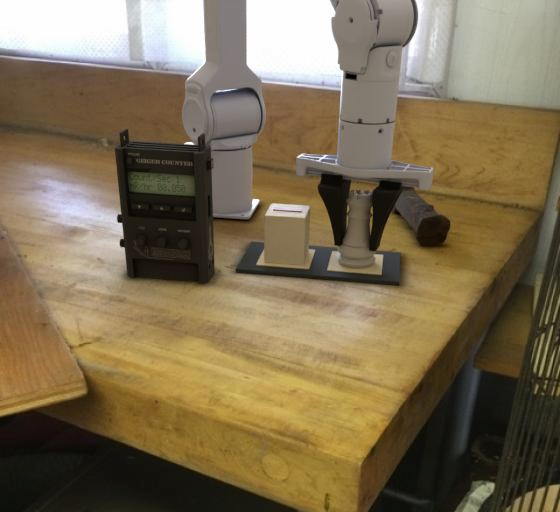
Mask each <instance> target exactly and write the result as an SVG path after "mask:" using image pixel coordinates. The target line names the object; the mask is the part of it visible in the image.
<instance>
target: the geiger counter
mask: <svg viewBox="0 0 560 512" xmlns="http://www.w3.org/2000/svg"><path fill="white" fill-rule="evenodd" d="M201 141H202V144H201ZM114 154H115V165H116V176H117V186H118V196H119V206H120V213H118V214H117V216H116V221H117V223H119V224H121V225H122V236H123V237H122V238H120V239H119V247H120V248H124V256H125V265H126V275H127V277H128V278H130V279H134V278H136V277H139V278H148V279H159V280H160V279H161V280H172V281H183V282H195V283H198V284H199V285H205V284H209V283H210V281H211V280H212V279H213V277H214V275H215V274H216V272H215V271H216V269H215V268H216V266H215V235H214V234H215V233H214V232H215V231H214V217H213V200H212V169H213V168H214V166H213V158H211V147H210V146H208V145H205V133H202V134H201V135H200V136H198V145H192V144H185V143H177V142H176V143H175V142H174V143H173V142H157V141H139V140H130V135H129V128H125V129H123V130H121V131H119V144H117V146H115V147H114Z"/></svg>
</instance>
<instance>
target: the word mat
mask: <svg viewBox="0 0 560 512" xmlns="http://www.w3.org/2000/svg"><path fill="white" fill-rule="evenodd" d="M338 254H339V251H338V247H333V246H331V247H330V246H320V245H319V246H318V245H309V252H308V254H307V257H306V260H305V263H304V265H291V264H278V263H265V262H264V241H251V242H250V244H249V245H248V247H247V248H246V250H245V252H244V254H243V256H242V257H241V258H240V261H239V263H238V264H237V266H236V268H235V273H241V274H252V275H253V274H254V275H267V276H280V277H292V278H302V279H303V278H305V279H316V280H317V279H319V280H329V281H343V282H353V283H367V284H377V285H393V286H400V284H401V283H400V282H401V254H402V252H400V251H399V252H398V251H386V250H376V252H375V254H374V257H375V258H376V260H375V262H374V263H373V264H372V265H371V266H369V267H365V268H350V267H346V266H344V265H342V264H340V262H339V261H338V259H337V255H338Z"/></svg>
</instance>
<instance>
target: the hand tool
mask: <svg viewBox="0 0 560 512" xmlns="http://www.w3.org/2000/svg"><path fill="white" fill-rule="evenodd" d="M392 212H393V213H396V214H400V216H401V218H402V219H404V220H405V221H406V222H407V224H408V225H409V227H410V228H411V229H412V230H413V231H414V233H416V241H417V243H418V244H419V245H420V246H422V247H432V246H437V245H441V244H443V243H444V242H445V241H446V240H447V238H448V233H449V232H450V230H451V220H450V219H449V218H448V217H446V216H445V215H443V214H440V213H438V212H437V211H436V209H435V206H434V205H433V204H430V203H428V202H426V200H425V199H424V198H422V196H420V195H419V194H418V192H417V191H416V188H415V187H406V186H405V188H404V189H403V191H402V193H401V195H400V196H399V198H398V200H397V202H396V203H395V205H394V207H393V209H392Z"/></svg>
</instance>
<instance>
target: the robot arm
mask: <svg viewBox="0 0 560 512" xmlns="http://www.w3.org/2000/svg"><path fill="white" fill-rule="evenodd" d="M201 2H202V3H201V4H202V5H201V6H202V37H203V38H202V39H203V40H202V41H203V62H202V64H201V65H200V66H199V67H198V68H197V69H196V70H195V71H194V72H193V73H191V75H190V76H189V77H187V79H186V80H185V82H184V85H185V90H184V91H185V93H184V100H183V104H182V108H181V120H182V125H183V128H184V131H185V133H186V135H187V137H188V138H189V139H190V141H189V142H185V143H184V144H192V145H198V136H200V135H201V134H202V133H205V145H208V146H210V147H211V158H213V166H214V168H213V169H212V200H213V218H220V219H221V218H222V219H234V220H250V219H251V217H252V216H253V214H254V213H255V211H256V210H257V208H258V206H259V205H260V201H261V200H260V199H259V198H258V199H256V198H253V145H254V144H257V143H258V136H259V135H261V134H262V132H263V131H264V129H265V125H266V121H267V108H266V104H265V101H264V96H263V81H262V79H261V78H260V76H258V74H256V73H255V71H253V70H252V68H250V66H249V65H248V64H247V63H248V62H247V59H248V57H247V56H248V54H247V53H248V51H247V50H248V49H247V47H248V46H247V36H248V35H247V33H248V32H247V31H248V30H247V24H248V23H247V0H201ZM327 2H328V3H329V6H330V7H331V9H332V11H333V12H334V16H331V19H330V23H331V32H332V36H333V39H334V42H335V44H336V47H337V64H338V65H339V70H340V71H341V83H340V85H341V88H340V100H339V101H340V102H339V117H338V131H337V132H338V133H337V134H338V135H337V149H336V150H337V151H336V154H309V153H301V154H300V155H298V156H296V158H295V160H296V161H295V176H299V177H300V176H301V177H307V176H313V177H320V182H319V183H318V184H317V192H318V194H319V196H320V198H321V200H322V202H323V205H324V207H325V210H326V212H327V214H328V218H329V222H330V225H331V230H332V236H333V244H334V246H335V247H339V246H341V244H342V240H343V238H344V237H345V234H346V230H347V225H348V215H347V213H348V207H349V205H348V204H347V202H346V199H347V198H348V196H349V193H350V190H351V185H352V181H357V182H358V181H359V182H366V183H373V184H378V185H377V186H376V187H375V188H374V189H373V190H371V191H372V202H373V206H372V217H371V218H372V219H371V221H372V222H371V228H370V242H369V251H378V249H379V247H381V241H382V237H383V234H384V231H385V228H386V226H387V222H388V220H389V218H390V216H391V213H392V212H393V207H394V205H395V203H396V202H397V200H398V198H399V196H400V195H401V193H402V191H403V189H404V188H405V186H406V187H414V189H416V188H417V189H418V190H419V191H426V192H428V191H429V190H430V189H431V188H432V185H433V178H434V171H435V168H434V167H429V166H422V165H417V164H411V163H407V162H402V161H397V160H393V159H392V157H393V146H394V138H395V137H394V136H395V128H396V127H395V126H396V117H397V108H398V107H397V105H398V96H399V87H400V86H399V85H400V76H401V65H402V54H403V49H404V48H405V47H406V46H408V45H409V43H410V42H411V41H412V39H413V38H414V37H415V35H416V32H417V28H418V24H419V8H418V4H417V0H327ZM201 144H202V141H201Z"/></svg>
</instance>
